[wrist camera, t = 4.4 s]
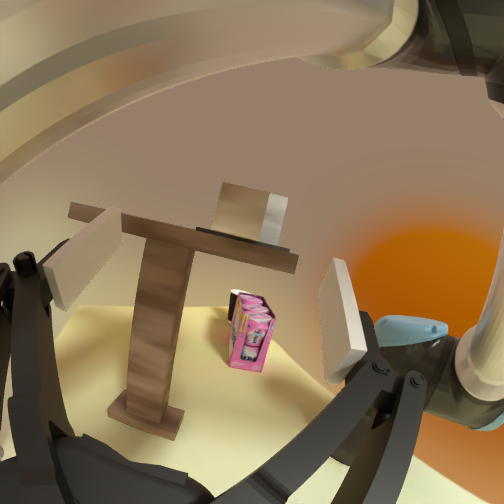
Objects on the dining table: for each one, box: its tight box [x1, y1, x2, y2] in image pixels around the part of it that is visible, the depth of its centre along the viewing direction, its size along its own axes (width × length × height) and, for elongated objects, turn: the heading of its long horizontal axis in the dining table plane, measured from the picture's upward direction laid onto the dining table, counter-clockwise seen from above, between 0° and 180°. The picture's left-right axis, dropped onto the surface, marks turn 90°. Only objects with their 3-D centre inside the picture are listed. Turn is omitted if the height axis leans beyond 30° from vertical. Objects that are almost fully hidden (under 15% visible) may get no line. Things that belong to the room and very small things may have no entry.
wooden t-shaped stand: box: [68, 202, 299, 441], centre depth 34 cm, size 12×28×28 cm, turn 89°
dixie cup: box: [228, 290, 251, 324], centre depth 90 cm, size 8×8×11 cm
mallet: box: [211, 182, 288, 246], centre depth 27 cm, size 22×8×6 cm, turn 0°
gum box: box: [229, 292, 276, 372], centre depth 67 cm, size 24×8×14 cm, turn 5°
